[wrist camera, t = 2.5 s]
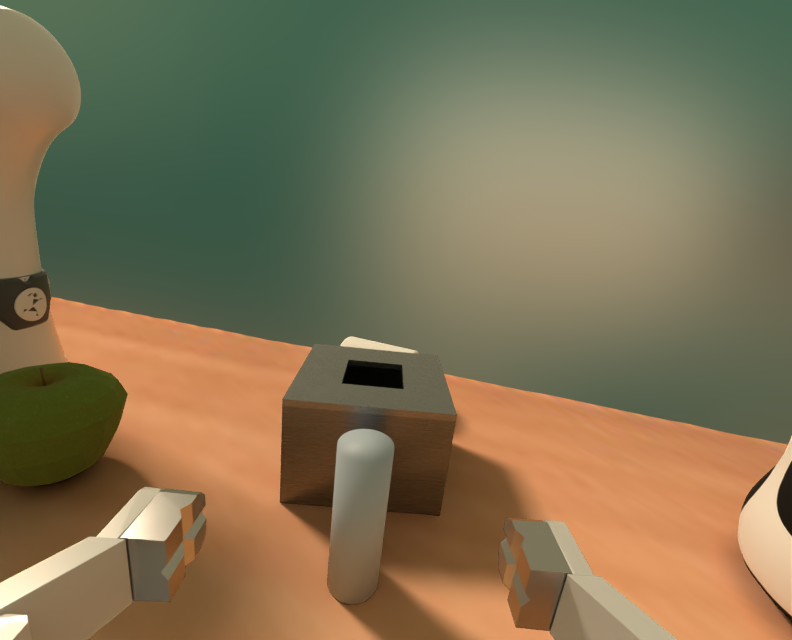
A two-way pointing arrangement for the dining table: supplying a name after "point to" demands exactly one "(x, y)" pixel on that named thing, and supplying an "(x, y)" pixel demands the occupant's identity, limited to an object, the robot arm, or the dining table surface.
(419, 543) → the dining table surface
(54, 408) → the apple
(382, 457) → the grey rounded cylinder
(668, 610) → the dining table surface
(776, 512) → the milk container
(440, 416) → the grey square box
